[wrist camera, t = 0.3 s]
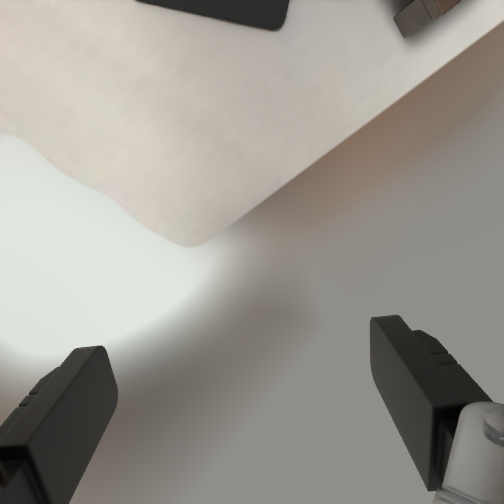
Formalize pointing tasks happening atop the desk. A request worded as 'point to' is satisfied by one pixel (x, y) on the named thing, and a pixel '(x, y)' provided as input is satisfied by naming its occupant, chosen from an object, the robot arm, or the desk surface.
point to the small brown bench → (422, 13)
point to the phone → (234, 10)
